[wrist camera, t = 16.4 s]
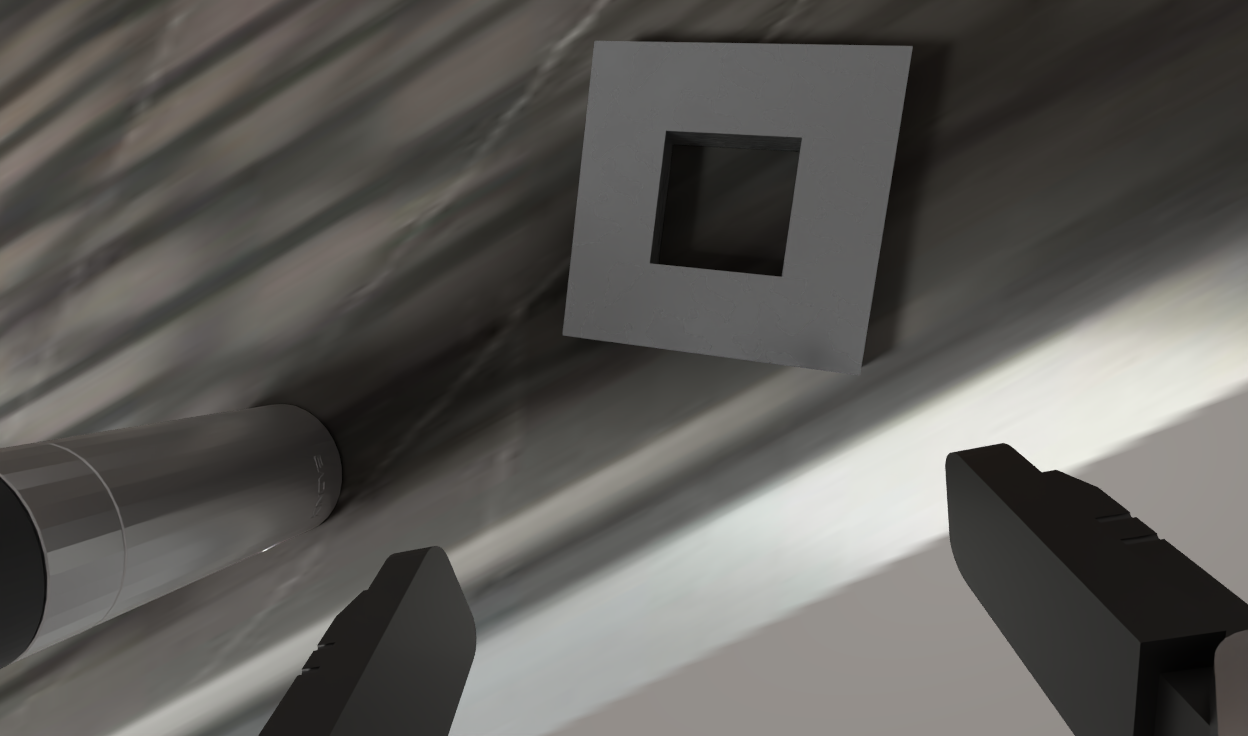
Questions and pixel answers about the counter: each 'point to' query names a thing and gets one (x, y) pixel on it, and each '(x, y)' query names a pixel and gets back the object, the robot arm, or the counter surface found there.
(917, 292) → the counter surface
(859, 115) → the socket block
